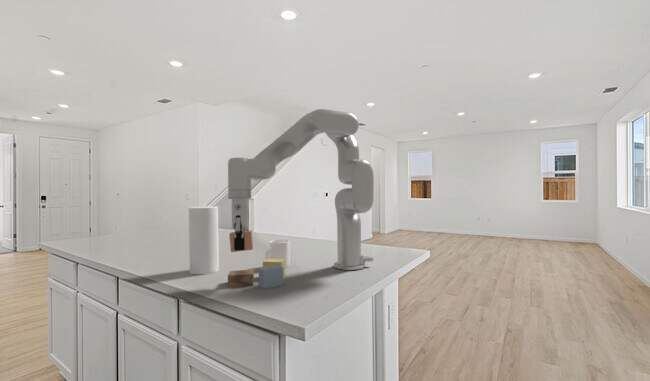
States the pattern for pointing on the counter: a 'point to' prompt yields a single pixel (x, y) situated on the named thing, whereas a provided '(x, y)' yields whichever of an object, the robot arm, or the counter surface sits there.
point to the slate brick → (270, 276)
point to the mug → (279, 251)
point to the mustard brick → (275, 263)
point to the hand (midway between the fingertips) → (240, 248)
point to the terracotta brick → (247, 241)
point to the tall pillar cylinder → (203, 240)
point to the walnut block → (241, 278)
